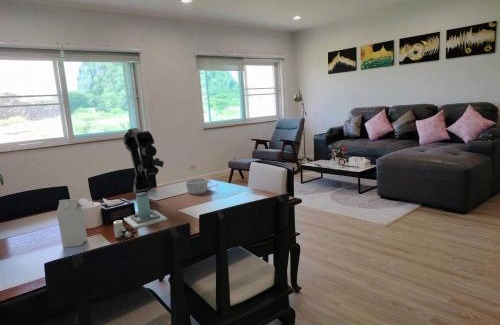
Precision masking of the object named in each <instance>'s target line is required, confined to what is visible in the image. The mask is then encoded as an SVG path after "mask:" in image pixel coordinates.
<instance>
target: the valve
mask: <svg viewBox="0 0 500 325" xmlns="http://www.w3.org/2000/svg"><path fill="white" fill-rule="evenodd" d="M123 221H124V220H122V219H121V220H120V219H119V220H115V221H113V232H114V237H115V238H117V239H118V238H120V239H122V242H123V241H125V240H126V241H128V239H130V240H132V238H135V239H136V236H135V235H136V234H137V231H136V230H134V228H133V227H131V226H130V228H129V226H124V222H123ZM126 241H125V242H126Z"/></svg>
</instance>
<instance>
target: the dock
mask: <svg viewBox="0 0 500 325" xmlns="http://www.w3.org/2000/svg"><path fill="white" fill-rule="evenodd" d="M150 213H151V217H149V218H145V219H141V220H140V219H139V214H138V213H136V214H132V215H129V216H126V217H127V218H126V217H123V221H124V222H125V223H127V224H128V225H129V226H130V228H131V227H133V228H134V229H138V228H142V227H147V226H149V225H153V224H157V223H162V222H164V221H168V217H166V216H165V215H164V214H162V213H160V212H158V211H157V210H151V209H150Z"/></svg>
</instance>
